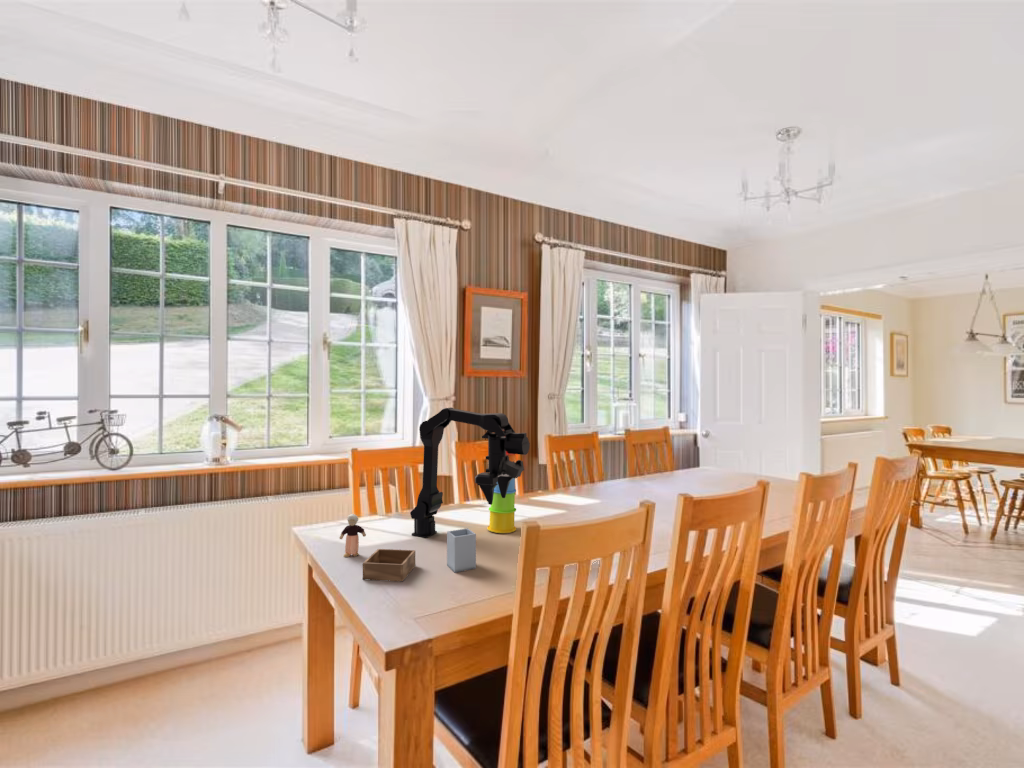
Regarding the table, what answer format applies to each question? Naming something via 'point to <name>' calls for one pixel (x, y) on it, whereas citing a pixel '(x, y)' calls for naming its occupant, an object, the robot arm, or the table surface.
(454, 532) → the grey upright prism
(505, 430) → the robot arm
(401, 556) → the crate large
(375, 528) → the table surface
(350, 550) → the grandmother figurine
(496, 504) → the stacking cups
